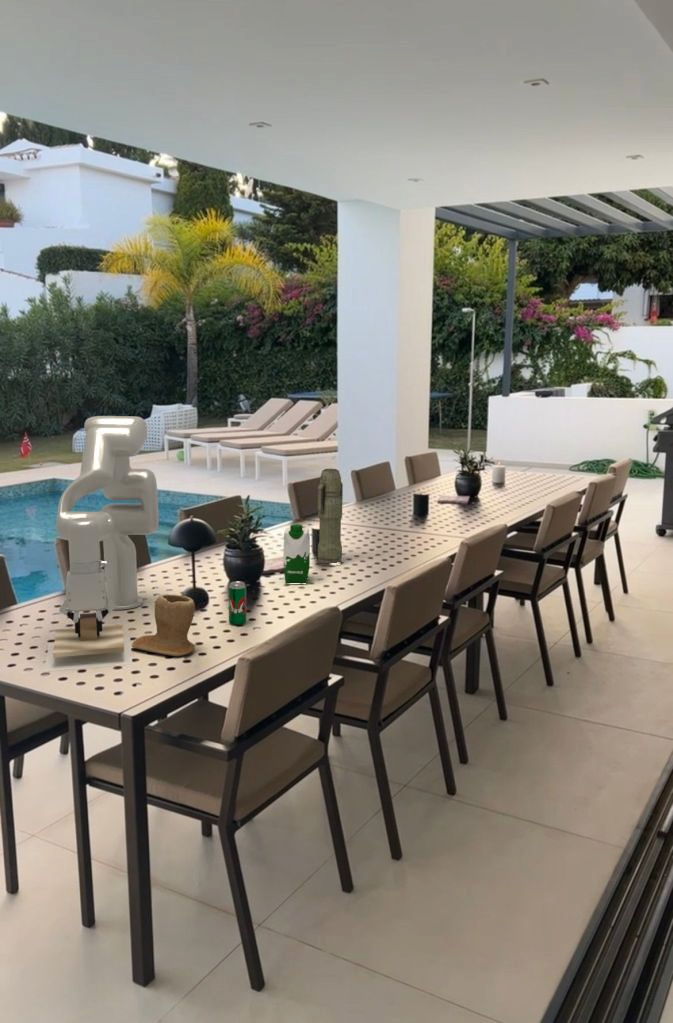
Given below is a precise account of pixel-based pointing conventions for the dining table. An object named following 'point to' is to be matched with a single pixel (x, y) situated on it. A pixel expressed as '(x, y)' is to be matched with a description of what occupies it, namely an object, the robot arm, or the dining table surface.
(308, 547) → the milk carton
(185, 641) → the brown boot-shaped piece
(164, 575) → the dining table surface
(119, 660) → the grey mat
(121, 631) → the birch lid
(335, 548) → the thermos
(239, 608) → the soda can
